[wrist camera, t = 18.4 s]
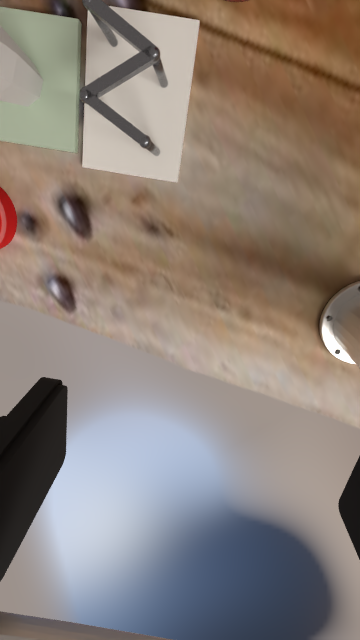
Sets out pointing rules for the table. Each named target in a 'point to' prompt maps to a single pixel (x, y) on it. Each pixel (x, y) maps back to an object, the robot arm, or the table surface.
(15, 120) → the pale green flat panel
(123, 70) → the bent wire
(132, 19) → the wire board
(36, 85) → the faceted bottle
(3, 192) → the decorative ornament
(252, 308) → the table surface
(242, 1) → the canister
